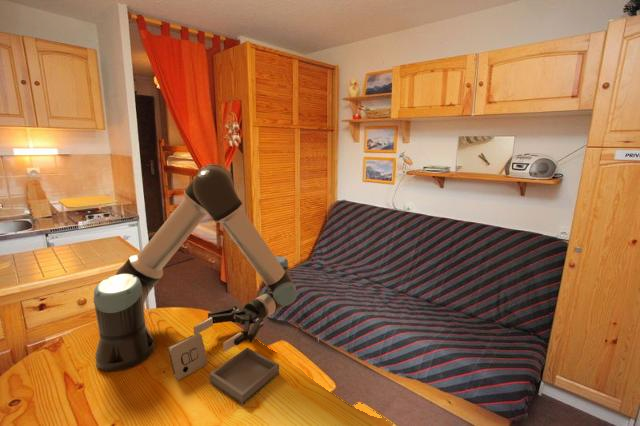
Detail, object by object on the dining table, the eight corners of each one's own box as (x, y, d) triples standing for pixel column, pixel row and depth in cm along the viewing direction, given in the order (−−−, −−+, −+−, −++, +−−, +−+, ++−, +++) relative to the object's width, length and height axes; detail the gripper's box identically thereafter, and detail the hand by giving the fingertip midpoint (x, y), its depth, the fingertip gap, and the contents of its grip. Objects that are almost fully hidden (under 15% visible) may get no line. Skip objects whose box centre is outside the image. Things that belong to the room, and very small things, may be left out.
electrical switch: (177, 382, 88) (173, 350, 86) (168, 375, 91) (163, 344, 90) (208, 364, 95) (204, 335, 94) (198, 358, 98) (195, 329, 97)
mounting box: (210, 383, 88) (209, 373, 87) (247, 356, 99) (247, 347, 98) (242, 405, 81) (242, 395, 80) (279, 373, 92) (279, 364, 91)
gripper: (287, 330, 109) (238, 366, 91) (235, 307, 122) (184, 335, 105) (287, 310, 107) (237, 343, 90) (234, 289, 120) (182, 313, 103)
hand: (208, 338), depth 97 cm, fingers open, 13 cm apart
